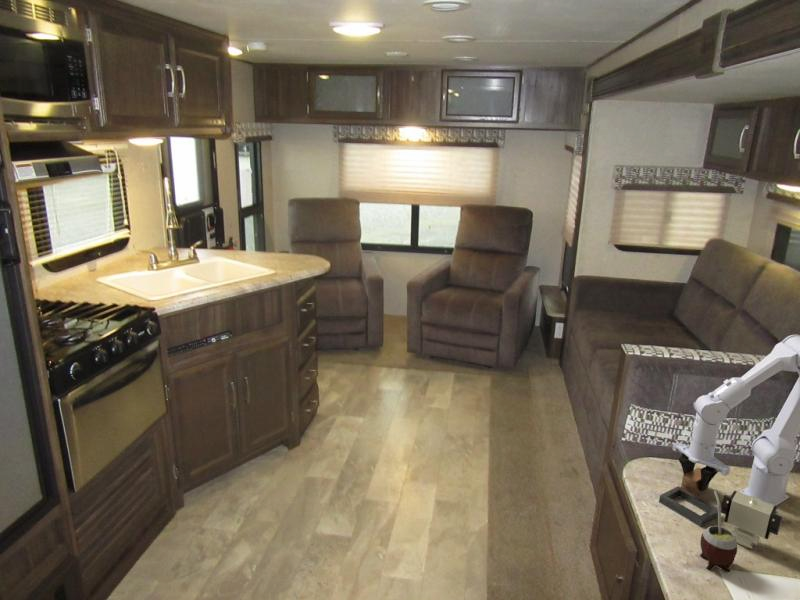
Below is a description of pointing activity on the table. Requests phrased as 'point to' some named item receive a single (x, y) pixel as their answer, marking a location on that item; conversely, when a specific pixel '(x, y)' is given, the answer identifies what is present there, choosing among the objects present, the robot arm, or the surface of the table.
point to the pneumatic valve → (750, 518)
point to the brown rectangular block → (693, 482)
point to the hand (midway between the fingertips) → (695, 485)
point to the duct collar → (685, 512)
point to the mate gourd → (718, 544)
